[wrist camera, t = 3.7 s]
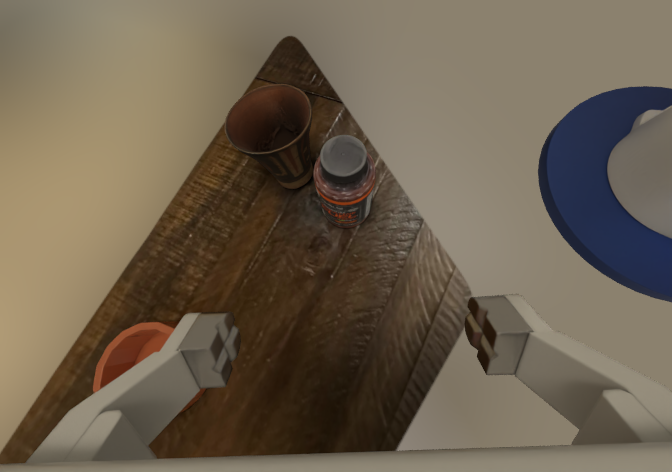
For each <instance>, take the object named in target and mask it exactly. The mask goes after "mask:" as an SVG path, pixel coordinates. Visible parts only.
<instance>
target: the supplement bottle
mask: <svg viewBox="0 0 672 472" xmlns="http://www.w3.org/2000/svg"><path fill="white" fill-rule="evenodd" d="M313 176H314V182H315V186H316V190H317V193H318V197H319V200H320V204H321V207H322V210H323V213H324V215H325V217H326V218H327V220H328V221H329V222H331V223H332V224H334V225H335V226H338V227H341V228H351V227H354V226H357V225H359V224H361V223H362V222H363V221H364V220H365V219H366V218H367V216H368V214H369V212H370V209H371V204H372V197H373V190H374V184H375V178H376V169H375V164H374V161H373V159H372V157H371V156H370V155H369V154H368V153H367V151H366V148H365V146H364V145H363V143H362V142H361V141H360V140H359V139H357V138H355V137H353V136H349V135H339V136H336V137H333V138H331V139H330V140H328V141H327V142H326V143H325V144H324V145H323V147H322V149H321V152H320V156H319V157H318V159H317V161H316V163H315V166H314V170H313Z"/></svg>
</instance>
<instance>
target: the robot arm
mask: <svg viewBox="0 0 672 472" xmlns="http://www.w3.org/2000/svg"><path fill="white" fill-rule="evenodd" d="M607 173H608V179H609V183H610V186H611V188H612V191H613V193H614V195H615V196H616V198H617V200H618V201H619V202H620V204H621V205H622V206H623V207H624V209H625V210H626V211H627V212H628V213H629V214H630V215H631V216H633V217H634V218H635V219H636V220H637V221H639V222H640V223H642V224H643V225H645V226H646V227H648V228H650V229H651V230H653V231H655V232H657V233H659V234H662V235H664V236H666V237H669V238H671V239H672V106H670V107H668V108H667V109H665V110H648V111H646V112H644V113H643V114H641V115H639V116H638V117H637V118H636V119H635V121H634V124H633V127H632V130H631V132H630V133H629V134H628V135H627V136H626V137H624V138H623V139H622V140H621V141H619V142H618V143H617V144H616V146H615V147H614V148H613V150H612V152H611V154H610V156H609V159H608V165H607ZM468 308H469V310H470V313H469V314H468V315H467V316H466V318H465V331H466V335H467V337H468V340H469V342H470V344H471V345H472V346H473V347H475V348H476V349H477V350H478V354H477V358H478V360H479V362H480V363H481V365H482V367H483V369H484V371H485V373H486V375H513V374H514V375H515V376H516V377H517V378H518V379H519V380H520V381H522V382H523V383H524V384H525V385H526V386H528V387H529V388H530V389H531V390H532V391H534V392H535V393H536V394H537V395H539V396H540V397H541V398H542V399H543V400H544V401H546V402H547V403H548V404H549V405H551V406H552V407H553V408H554V409H555V410H556V411H558V412H559V413H560V414H561V415H563V416H564V417H565V418H566V419H567V420H569V421H570V422H571V423H572V424H573V425H575V426H576V427H577V428H578V429H579V432H578V434H577V436H576V437H575V439H574V440H573V442H572V445H560V446H530V447H502V448H501V447H500V448H470V449H442V450H409V451H378V452H349V453H320V454H291V455H262V456H232V457H202V458H173V459H157V457H156V455H155V454H154V453H153V452H152V450H151V449H150V448H149V446H148V445H149V444H150V443H151V442H152V441H153V440H154V439H155V438H156V437H157V435H158V434H159V433H160V432H161V431H162V430H163V429H164V428H165V427H166V426H167V425H168V424H169V423H170V422H171V421H172V420H173V419H174V417H175V416H176V415H177V414H178V413H179V412H180V411H181V410H182V409H183V408H184V407H185V406H186V405H187V404H188V403H189V402H190V401H191V399H192V398H193V397H194V396H195V395H196V394H197V393H198V392H199V391H200V389H204V388H217V387H226V385H227V382H228V379H229V377H230V374H231V372H232V369H233V368H232V365H231V362H232V361H233V360H234V359H235V358H236V357H237V356H238V353H239V350H240V344H241V337H240V332H239V329H238V328H236V327H235V326H234V325H233V324H234V321H235V318H234V315H233V313H232V312H202V313H188V314H186V315H184V317H183V318H182V319H181V321H180V322H179V324H178V325H177V327H176V328H175V330H174V331H173V332H172V334H171V335H170V337H169V338H168V340H167V341H166V343H165V344H164V346H163V347H162V348H161V350H160V351H159V352H154V353H153V354H151V355H150V356H148V357H147V358H145V359H144V360H142V361H141V362H139V363H138V364H137V365H135V366H134V367H132V368H131V369H129V370H128V371H126V372H125V373H123V374H122V375H121V376H119V377H118V378H116V379H115V380H113V381H112V382H110V383H109V384H107V385H106V386H104V387H103V388H102V389H100V390H99V391H97V392H96V393H94V394H93V395H91V396H90V397H88V398H87V399H86V400H84V401H83V402H81V403H80V404H78V405H77V406H75V407H74V408H72V409H71V410H70V411H69V412H68V413H67V414H66V415H65V416H64V418H63V419H62V420H61V421H60V422H59V423H58V425H57V426H56V427H55V428H54V429H53V431H52V432H51V433H50V434H49V435H48V437H47V438H46V439H45V440H44V441H43V443H42V444H41V445H40V446H39V447H38V448H37V450H36V451H35V452H34V453H33V454H32V456H31V457H30V458H29V459H28V460H27V462H26V463H21V464H0V472H672V391H671V390H670V389H668V388H667V387H666V386H665V385H663V384H661V383H659V382H657V381H655V380H653V379H651V378H649V377H647V376H645V375H643V374H641V373H639V372H637V371H635V370H633V369H631V368H629V367H628V366H626V365H624V364H622V363H620V362H618V361H616V360H614V359H612V358H610V357H608V356H606V355H604V354H602V353H600V352H598V351H597V350H594V349H593V348H591V347H589V346H587V345H585V344H583V343H581V342H579V341H577V340H575V339H573V338H571V337H569V336H567V335H565V334H563V333H561V332H560V331H553V330H552V329H551V328H550V327H549V326H548V325H547V323H546V322H545V321H544V320H543V319H542V318H541V317H540V316H539V315H538V314H537V312H536V311H535V310H534V309H533V308H532V307H531V306H530V305H529V304H528V302H527V301H526V300H525V299H524V298H523V297H522V296H521V295H519V294H511V295H502V296H485V297H471V298H470V299H469V302H468Z"/></svg>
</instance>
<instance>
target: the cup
mask: <svg viewBox="0 0 672 472" xmlns="http://www.w3.org/2000/svg"><path fill="white" fill-rule="evenodd" d="M311 121H312V107H311V103H310V101H309V99H308V97H307V96H306V95H305V94H304V93H303V92H302V91H301V90H300V89H298V88H296V87H293V86H291V85H287V84H271V85H265V86H261V87H259V88H256V89H254V90H252V91H250V92H248V93H247V94H245V95H244V96H243V97H242V98H240V99H239V100H238V102H236V103H235V105H234V106H233V107H232V108H231V110H230V111H229V113H228V115H227V117H226V121H225V133H226V136H227V138H228V140H229V142H230V143H231V144H232V145H233V146H234V147H235V148H236V149H238V150H239V151H241V152H242V153H244V154H246V155H248V156H250V157H252V158H253V159H255V160H256V161H258V162H259V163H260V164H261V165H263V166H264V167H265V168H266V169H267V170H268V171H269V172H270V173H271V174H272V175H273V176H274V177H275V178H276V179H277V181H278V182H279V184H280V185H282V186H283V187H285V188H288V189H295V188H299V187H301V186H303V185H305V184H306V183H307V182H308V181H309V180H310V178H311V176H312V173H313V166H312V163H311V156H310V146H309V131H310V127H311Z"/></svg>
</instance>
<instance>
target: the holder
mask: <svg viewBox="0 0 672 472" xmlns="http://www.w3.org/2000/svg"><path fill="white" fill-rule="evenodd" d="M178 324H179V322H146V323H139V324H137V325H135V326H133V327H131V328H128V329H126V330H124V331H122V332H121V333H120V334H119V335H118V336H117V337H116V338H115V339H114V340H113V341H112V342H111V343H110V344H109V345H108V346H107V348H106V349H105V351H104V353H103V355H102V357H101V359H100V361H99V363H98V364H97V367H96V373H95V378H94V384H93V391H94V393H96V392H97V391H99V390H100V389H102V388H103V387H104V386H106V385H107V384H109V383H110V382H112V381H113V380H115V379H116V378H118V377H119V376H121V375H122V374H123V373H125V372H126V371H128V370H129V369H131V368H132V367H134V366H135V365H137V364H138V363H139V362H141V361H142V360H144V359H145V358H147V357H148V356H150V355H151V354H153V353H154V352H159V351H160V350H161V348H162V347H163V346H164V344H165V343H166V341H167V340H168V338H169V337H170V335H171V334H172V332H173V331H174V330H175V328H176V327H177V325H178ZM205 390H206V388H204V389H200V391H199V392H198V393H197V394H196V395H195V396H194V397H193V398H192V399H191V401H190V402H189V403H188V404H187V405H186V406H185V407H184V408H183V409H182V410H181V411H180V412H179V413H181V412H182V411H184V410H186V409H188V408H189V407H190V406H192V405H193V404H194V403H195V402H196V401H197V400H198V399H199V398H200V397H201V396H202V394H203V393H204V391H205ZM179 413H178V414H179Z"/></svg>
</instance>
